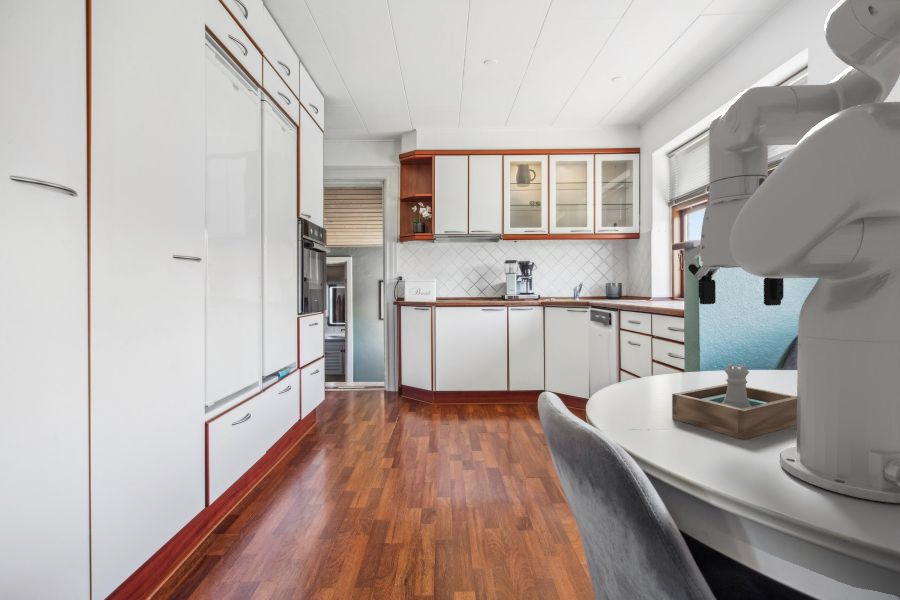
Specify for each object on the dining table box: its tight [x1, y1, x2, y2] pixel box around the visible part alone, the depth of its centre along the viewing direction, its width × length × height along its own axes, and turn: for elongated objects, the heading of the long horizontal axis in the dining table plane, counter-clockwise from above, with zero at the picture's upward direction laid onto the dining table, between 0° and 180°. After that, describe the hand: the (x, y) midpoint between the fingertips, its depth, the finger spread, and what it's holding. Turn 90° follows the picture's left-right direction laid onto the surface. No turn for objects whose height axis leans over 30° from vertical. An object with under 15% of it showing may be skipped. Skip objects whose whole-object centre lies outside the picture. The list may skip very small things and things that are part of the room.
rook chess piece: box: [722, 363, 752, 408], centre depth 69 cm, size 4×4×8 cm
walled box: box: [671, 383, 797, 441], centre depth 69 cm, size 11×15×4 cm
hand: (738, 304), depth 68 cm, fingers open, 9 cm apart
